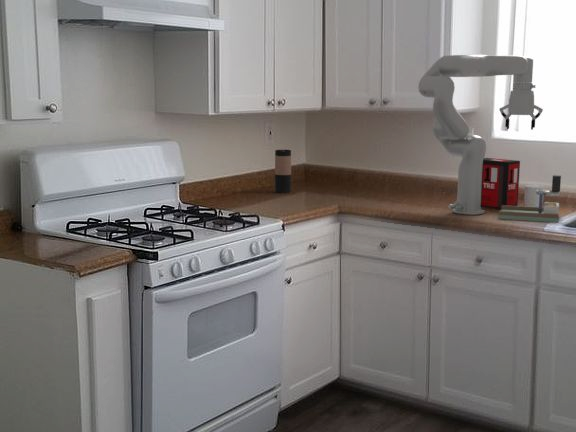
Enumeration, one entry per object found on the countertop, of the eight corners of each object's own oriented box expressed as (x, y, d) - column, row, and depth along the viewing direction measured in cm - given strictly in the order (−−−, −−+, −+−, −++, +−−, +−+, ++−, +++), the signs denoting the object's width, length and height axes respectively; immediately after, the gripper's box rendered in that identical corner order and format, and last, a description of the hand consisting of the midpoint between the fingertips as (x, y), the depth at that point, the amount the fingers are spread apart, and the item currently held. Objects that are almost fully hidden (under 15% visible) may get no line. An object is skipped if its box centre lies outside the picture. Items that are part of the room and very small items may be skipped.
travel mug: (272, 191, 381) (273, 149, 377) (288, 190, 383) (288, 149, 380) (277, 193, 374) (277, 151, 370) (293, 193, 376) (293, 150, 373)
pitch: (558, 215, 318) (558, 208, 317) (558, 222, 303) (558, 214, 302) (501, 212, 325) (501, 205, 324) (498, 218, 310) (499, 211, 309)
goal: (558, 212, 315) (559, 202, 314) (558, 217, 305) (559, 207, 304) (543, 212, 317) (544, 202, 316) (543, 216, 307) (543, 206, 306)
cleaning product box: (472, 205, 343) (474, 159, 339) (483, 203, 349) (486, 157, 345) (505, 210, 331) (508, 162, 327) (517, 207, 337) (520, 160, 333)
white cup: (527, 207, 337) (529, 184, 336) (546, 209, 333) (547, 185, 331) (520, 209, 331) (521, 186, 330) (538, 211, 327) (540, 187, 325)
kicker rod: (558, 212, 313) (560, 175, 310) (558, 215, 307) (560, 176, 305) (534, 211, 316) (537, 174, 313) (534, 213, 310) (536, 175, 307)
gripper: (544, 87, 327) (541, 129, 330) (501, 87, 333) (499, 128, 336) (544, 87, 320) (541, 130, 323) (499, 87, 326) (497, 129, 328)
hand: (519, 129), depth 329 cm, fingers open, 9 cm apart
